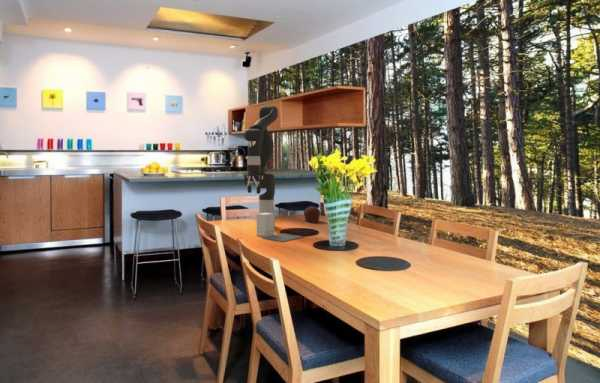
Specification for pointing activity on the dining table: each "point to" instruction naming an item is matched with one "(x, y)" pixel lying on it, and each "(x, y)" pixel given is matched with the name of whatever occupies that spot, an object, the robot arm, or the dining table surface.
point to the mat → (282, 237)
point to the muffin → (312, 214)
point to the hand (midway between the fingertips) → (253, 193)
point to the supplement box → (265, 224)
